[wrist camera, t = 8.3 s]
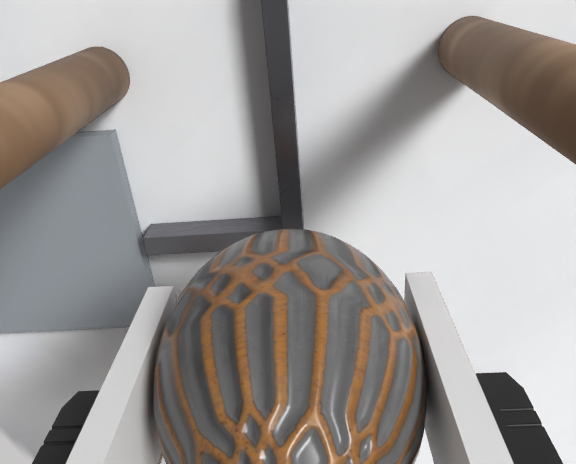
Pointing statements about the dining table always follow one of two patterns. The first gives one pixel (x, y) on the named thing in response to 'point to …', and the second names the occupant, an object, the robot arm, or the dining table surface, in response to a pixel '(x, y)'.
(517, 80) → the posts
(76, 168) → the pad
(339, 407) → the vase
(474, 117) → the dining table surface
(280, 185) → the grey l-shaped bracket
